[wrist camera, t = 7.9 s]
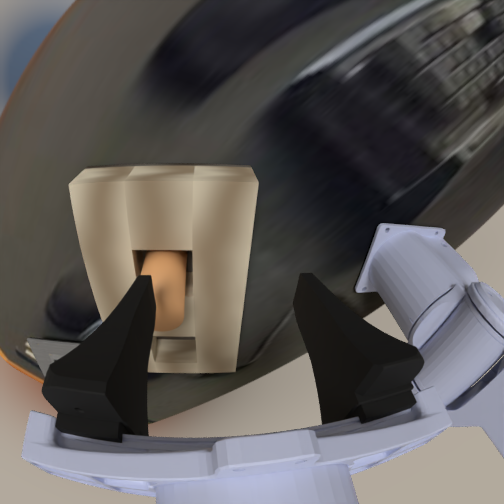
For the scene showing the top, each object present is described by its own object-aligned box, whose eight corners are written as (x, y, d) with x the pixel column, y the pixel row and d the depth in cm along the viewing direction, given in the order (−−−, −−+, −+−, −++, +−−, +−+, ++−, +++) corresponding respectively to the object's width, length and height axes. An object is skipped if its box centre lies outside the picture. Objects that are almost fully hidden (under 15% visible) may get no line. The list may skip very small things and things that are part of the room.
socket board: (250, 165, 20) (258, 182, 17) (231, 345, 31) (235, 371, 28) (87, 166, 18) (68, 184, 15) (126, 344, 29) (121, 370, 26)
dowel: (188, 233, 22) (183, 296, 16) (187, 266, 23) (184, 332, 18) (147, 231, 21) (129, 293, 15) (149, 265, 23) (136, 329, 17)
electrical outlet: (134, 334, 30) (134, 351, 28) (137, 380, 35) (138, 395, 33) (30, 326, 25) (26, 342, 23) (51, 374, 30) (50, 388, 28)
